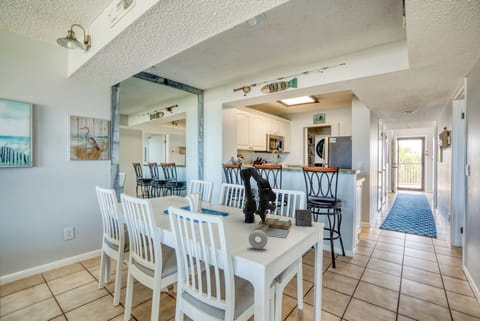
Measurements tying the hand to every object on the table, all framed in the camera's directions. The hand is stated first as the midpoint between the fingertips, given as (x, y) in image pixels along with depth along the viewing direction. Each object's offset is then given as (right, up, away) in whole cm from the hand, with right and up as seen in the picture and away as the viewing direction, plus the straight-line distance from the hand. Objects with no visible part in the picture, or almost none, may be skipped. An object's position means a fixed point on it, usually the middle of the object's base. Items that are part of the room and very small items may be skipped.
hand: (263, 222), depth 153 cm
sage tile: (+15, -1, +5) cm, 16 cm away
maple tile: (-1, -4, -2) cm, 4 cm away
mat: (+3, -4, -8) cm, 9 cm away
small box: (+29, -4, +8) cm, 30 cm away
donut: (-6, -5, -33) cm, 34 cm away
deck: (+9, -4, +6) cm, 12 cm away
